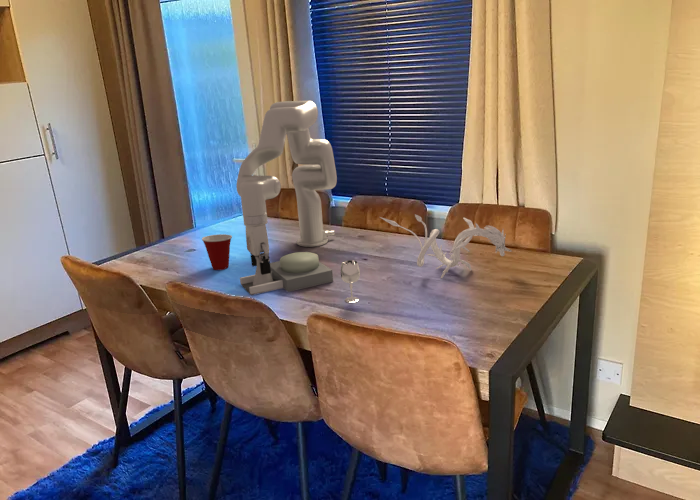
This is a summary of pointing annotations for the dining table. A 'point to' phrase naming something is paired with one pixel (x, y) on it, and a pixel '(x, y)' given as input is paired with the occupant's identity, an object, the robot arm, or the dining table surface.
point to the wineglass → (350, 276)
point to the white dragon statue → (456, 243)
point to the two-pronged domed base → (292, 274)
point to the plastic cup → (218, 250)
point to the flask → (259, 277)
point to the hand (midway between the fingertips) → (261, 269)
